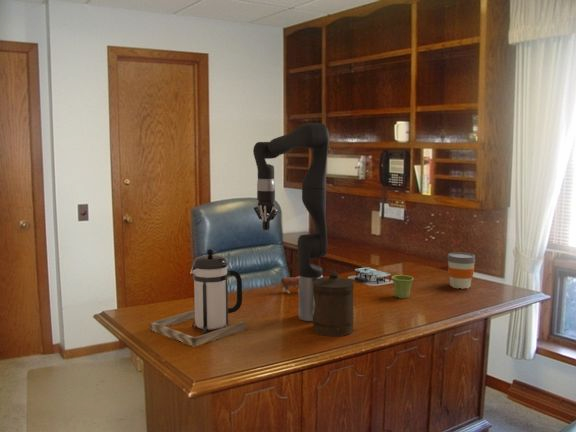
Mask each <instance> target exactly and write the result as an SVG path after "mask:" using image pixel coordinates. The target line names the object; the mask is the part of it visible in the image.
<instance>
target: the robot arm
mask: <svg viewBox="0 0 576 432" xmlns="http://www.w3.org/2000/svg"><path fill="white" fill-rule="evenodd" d="M329 141H330V135H329V129H328V126H327V125H326V124H323V123H319V122H318V123H313V122H312V123H311V122H310V123H309V122H308V123H304V124H301V125H300V126H298V127H297V128H295V129H294V130H292V131H290V132H289V133H287V134H284V135H281V136H278V137H275V138H273V139H271V140H270V141H257V142H256V143H255V144H254V146H253V150H252V151H253V156H254V161H255V164H256V168H257V181H256V182H257V183H256V191H257V192H256V197H257V199H256V200H257V201H258V202H257V206H254V207H253V210H254V211H255V214H256V216H257V218H258V220H261V221H262V230H263V231H269V230H270V228H271V227H270V223H271V221H273V220H274V219H275V218H276V216H277V214H278V213H279V208H276V207H275V200H276V182H275V167H274V165H272V164H270V163H269V164H268V163H267V161H266V160H269V159H270V160H271V159H276V158H278V157H279V156H282V155H285V154H287V153H290V152H292V150H293V149H296V148H298V149H299V148H305V149H313V151H312V160H311V163H310V166H309V168H308V169H307V171H306V173H305V175H304V177H303V179H302V184H301V200H302V203H303V205H304V207H305V209H306V211H308V214H309V215H310V217H311V218H312V221H313V224H314V230H315V231H314V232H315V233H310V234H309V233H308V234H306V233H305V234H301V235H300V236H299V237H298V238H297V261H298V262H297V266H298V277H299V293H298V319H299V320H301V321H305V322H313V294H314V281H315V280H317V279H320V278H324V275H323V273H324V271H323V270H324V269H323V268H322V267H321V266H320V265H316V264H312V263H311V261H310V260H311V259H317V258H325V256H326V254H327V251H328V235H327V234H328V233H327V232H328V231H327V218H326V217H327V215H326V214H327V213H326V212H327V211H326V210H327V207H326V206H327V162H328V153H329V143H330V142H329Z"/></svg>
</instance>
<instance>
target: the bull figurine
mask: <svg viewBox="0 0 576 432" xmlns="http://www.w3.org/2000/svg"><path fill="white" fill-rule="evenodd" d="M280 282H281V285H282V286H281V287H282V289H283V290H282V291H283V292H284V293H286V292H287V294H289V295H290V294H291V291H290V290H289V287H290V288H291V289H293V288H296V287H297V293H298V294H299V276H296V277H295V276H294V277H293V276H292V277H291V276H290V277H288V276H287V277H286V276H285V277H282V278H281V279H280Z"/></svg>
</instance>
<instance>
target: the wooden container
mask: <svg viewBox="0 0 576 432" xmlns="http://www.w3.org/2000/svg"><path fill="white" fill-rule="evenodd" d="M328 276H329V277H327V276H326V277H323V278H320V279H317V280H315V281H314V294H313V321H312V330H313V332H315V334H318V335H321V336H324V337H345V336H348V335H350V334H352V333H353V332H354V318H355V317H354V316H355V315H354V314H355V313H354V310H355V309H354V282H353V281H352V279H350V280H348V279H349V278H344V277H339V273H338V272H337V271H335V270H332V271H331V272H329V273H328Z"/></svg>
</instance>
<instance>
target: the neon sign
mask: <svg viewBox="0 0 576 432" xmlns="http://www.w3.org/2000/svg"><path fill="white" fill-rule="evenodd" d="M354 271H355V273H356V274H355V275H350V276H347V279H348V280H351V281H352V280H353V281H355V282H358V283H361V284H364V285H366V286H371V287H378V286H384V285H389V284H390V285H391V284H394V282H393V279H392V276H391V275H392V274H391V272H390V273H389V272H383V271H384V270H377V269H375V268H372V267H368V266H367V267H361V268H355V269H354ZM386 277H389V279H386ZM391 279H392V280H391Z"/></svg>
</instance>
